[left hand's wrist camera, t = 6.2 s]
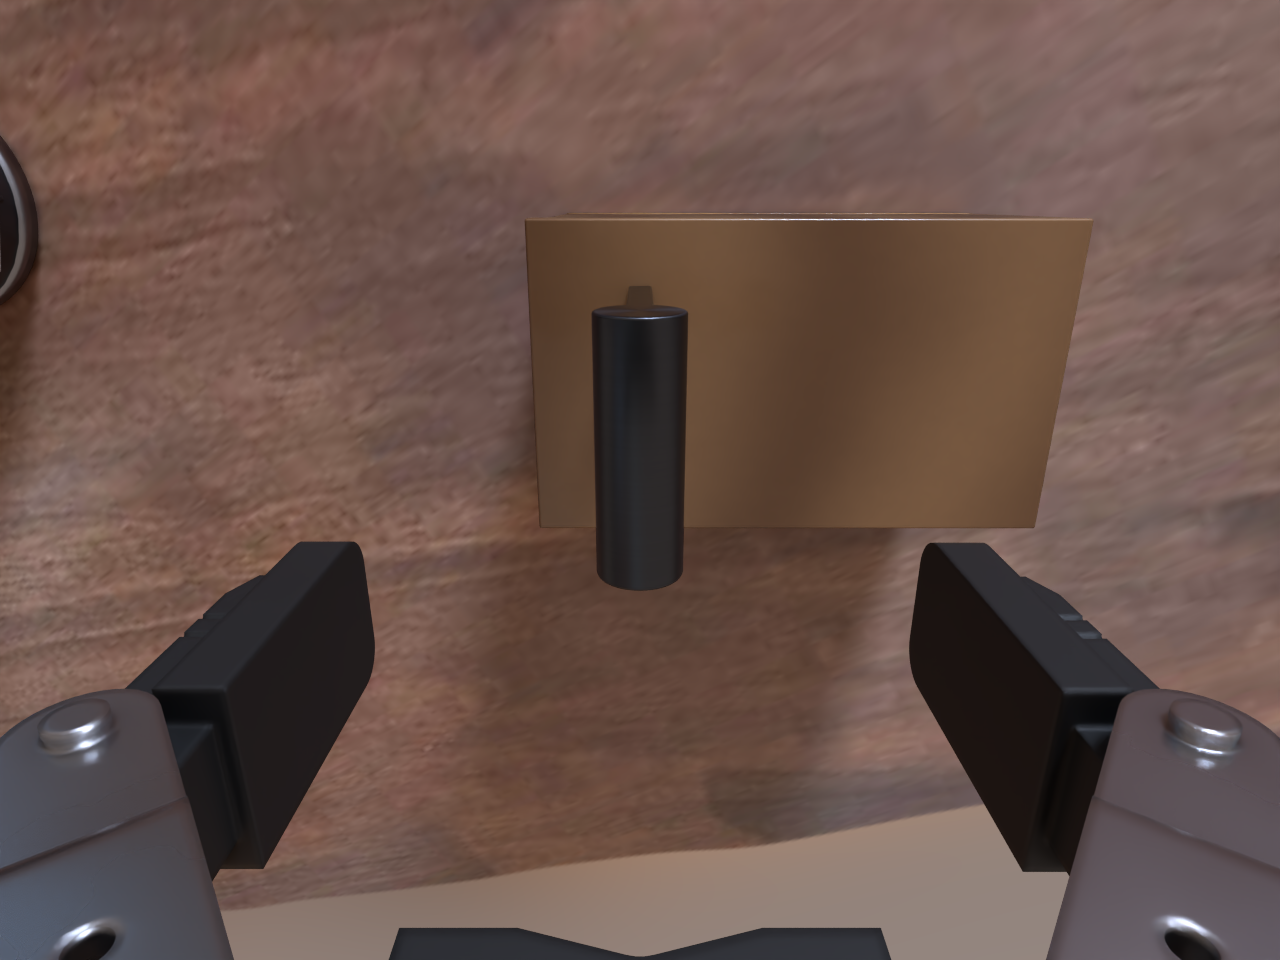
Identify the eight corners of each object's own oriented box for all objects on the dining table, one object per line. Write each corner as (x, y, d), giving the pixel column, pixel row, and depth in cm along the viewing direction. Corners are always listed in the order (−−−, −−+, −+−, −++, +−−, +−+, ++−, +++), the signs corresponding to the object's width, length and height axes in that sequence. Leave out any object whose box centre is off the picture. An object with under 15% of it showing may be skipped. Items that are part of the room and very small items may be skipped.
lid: (543, 515, 27) (499, 656, 19) (529, 217, 24) (468, 226, 15) (1019, 515, 27) (1189, 657, 19) (1074, 217, 24) (1311, 226, 15)
